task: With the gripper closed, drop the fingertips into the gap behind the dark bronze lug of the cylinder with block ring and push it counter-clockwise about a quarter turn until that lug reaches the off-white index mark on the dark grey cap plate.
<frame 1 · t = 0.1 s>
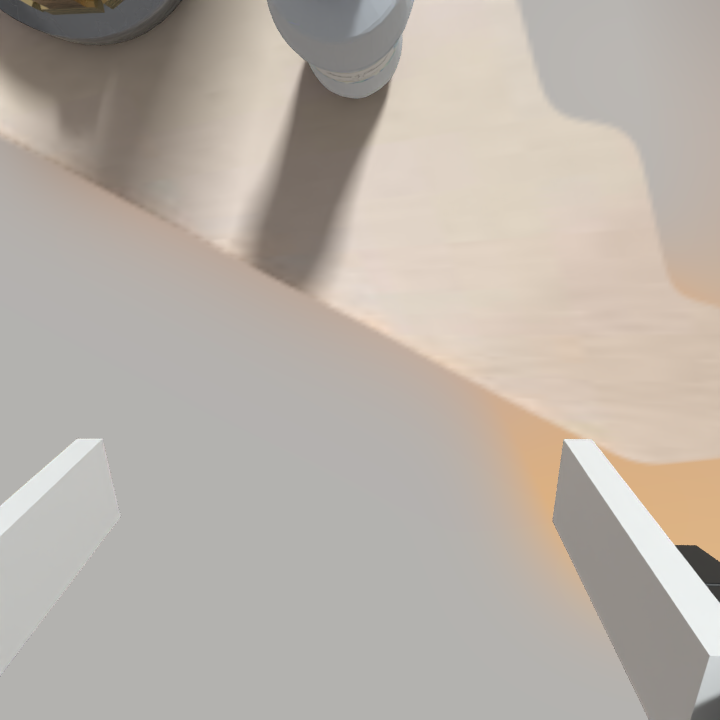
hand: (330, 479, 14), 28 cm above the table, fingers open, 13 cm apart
bottle: (355, 52, 35), on the table
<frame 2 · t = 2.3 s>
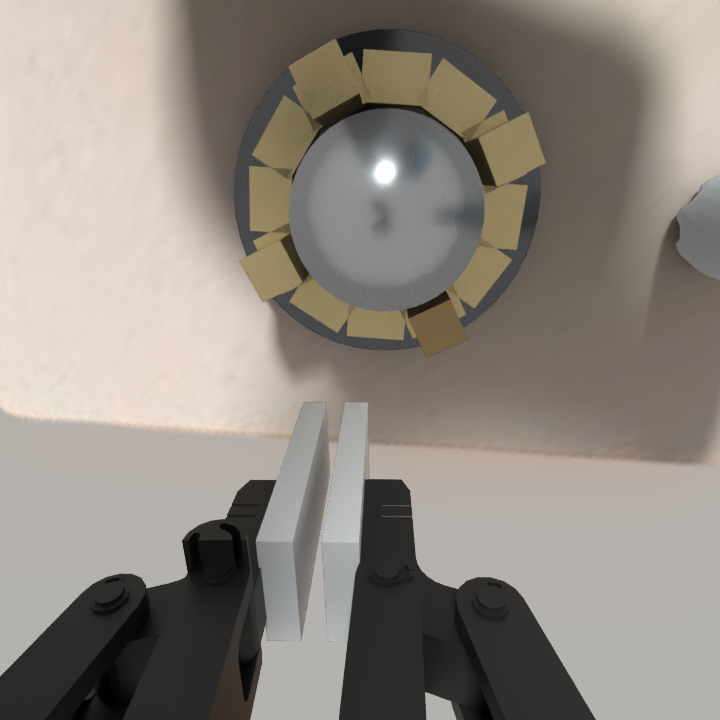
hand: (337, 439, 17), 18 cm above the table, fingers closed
cap plate: (385, 204, 31), on the table
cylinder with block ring: (385, 210, 27), point 5 cm above the table, hinge at 0.0°
bottle: (714, 222, 31), on the table
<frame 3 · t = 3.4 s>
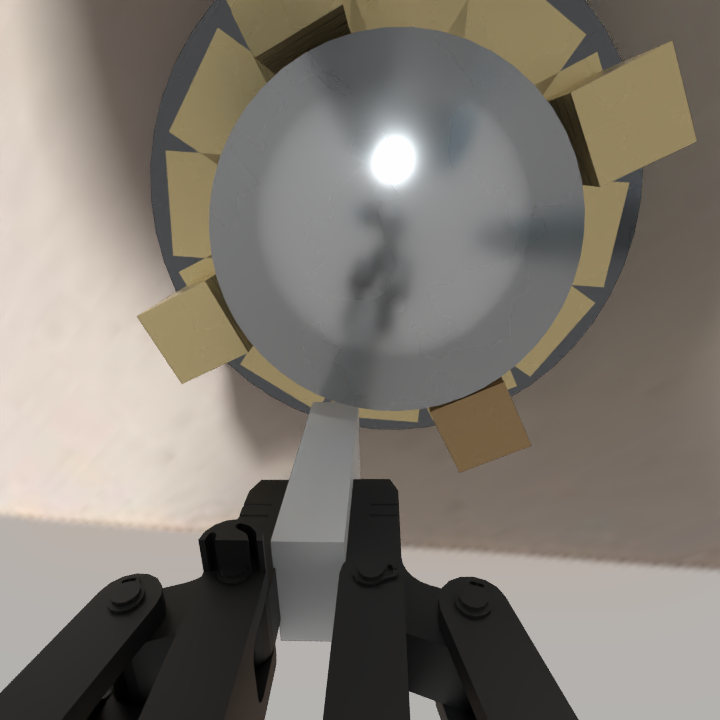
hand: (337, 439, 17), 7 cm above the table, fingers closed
cap plate: (389, 211, 20), on the table
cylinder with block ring: (391, 225, 16), point 5 cm above the table, hinge at 0.0°
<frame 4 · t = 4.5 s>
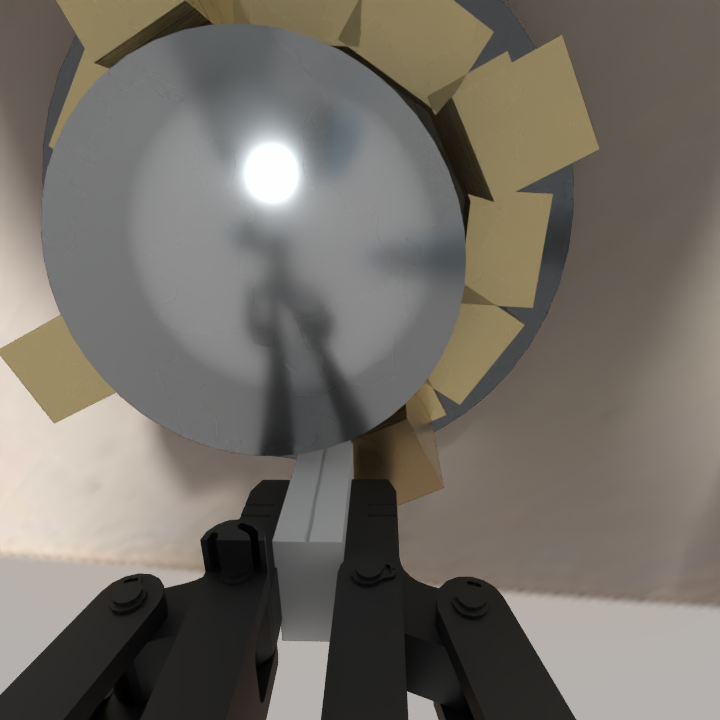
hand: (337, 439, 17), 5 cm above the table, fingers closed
cap plate: (311, 227, 19), on the table
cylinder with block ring: (287, 245, 14), point 5 cm above the table, hinge at 0.4°, touching gripper
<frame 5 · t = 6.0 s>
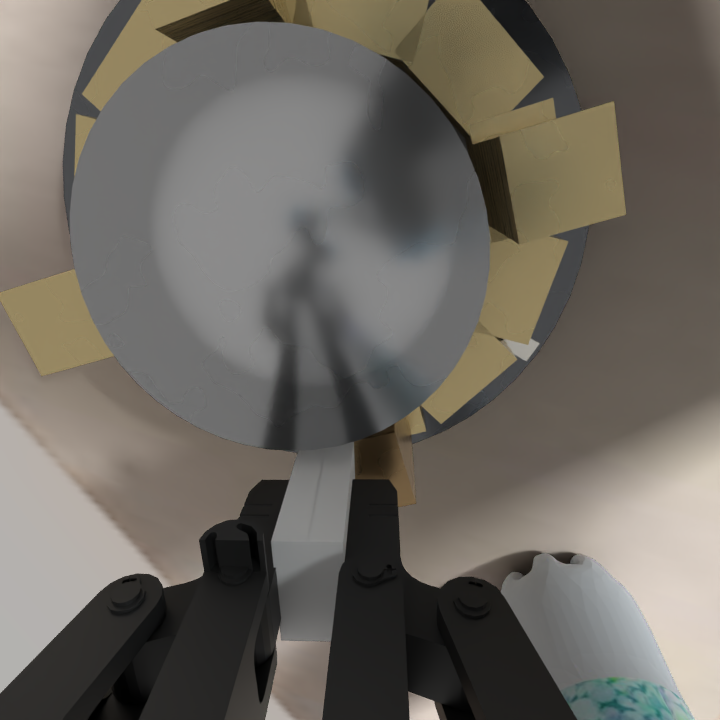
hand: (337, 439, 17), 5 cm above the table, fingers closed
cap plate: (327, 224, 19), on the table
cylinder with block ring: (307, 241, 15), point 5 cm above the table, hinge at 45.6°, touching gripper
bottle: (552, 586, 25), on the table
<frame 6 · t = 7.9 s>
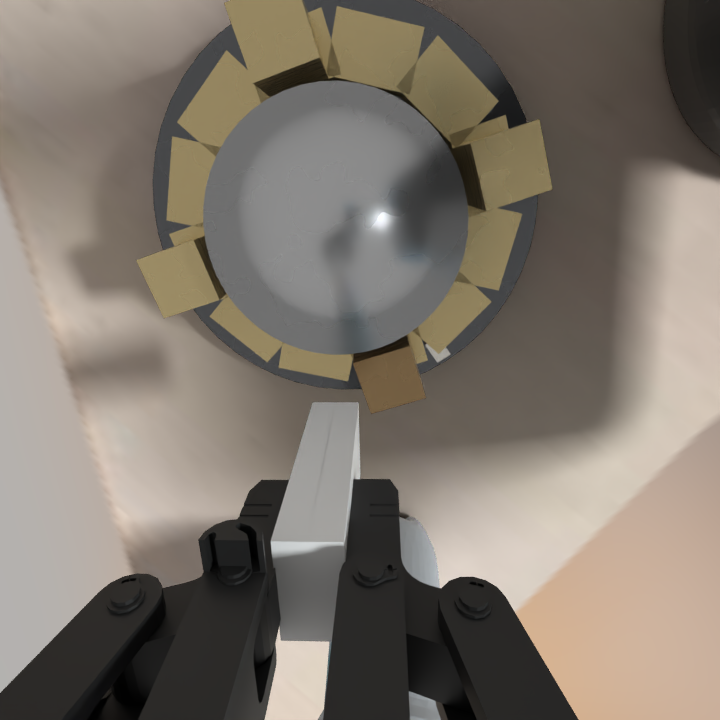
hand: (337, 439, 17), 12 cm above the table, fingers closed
cap plate: (346, 211, 25), on the table
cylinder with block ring: (341, 219, 21), point 5 cm above the table, hinge at 73.0°
bottle: (383, 536, 33), on the table
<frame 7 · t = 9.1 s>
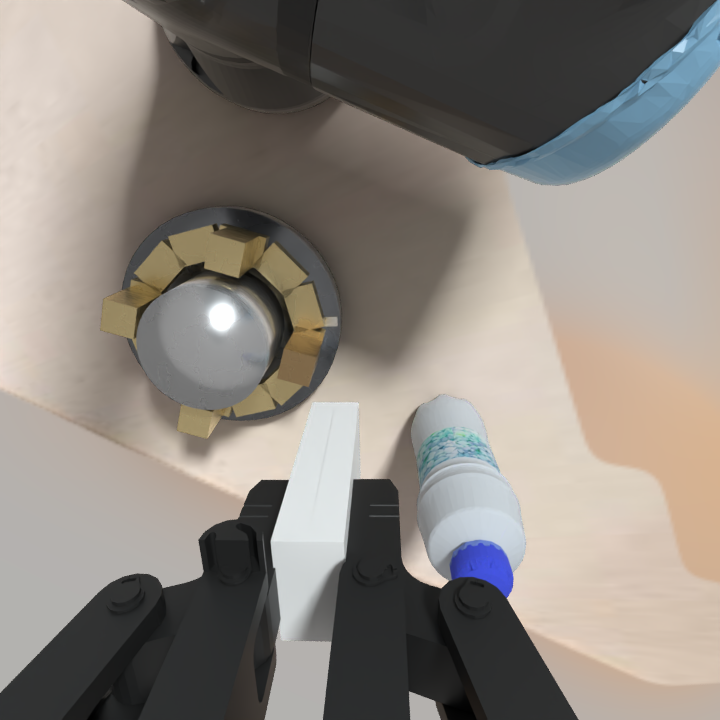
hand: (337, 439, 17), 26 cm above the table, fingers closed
cap plate: (236, 315, 43), on the table
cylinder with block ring: (219, 333, 38), point 5 cm above the table, hinge at 73.0°
bottle: (444, 418, 46), on the table
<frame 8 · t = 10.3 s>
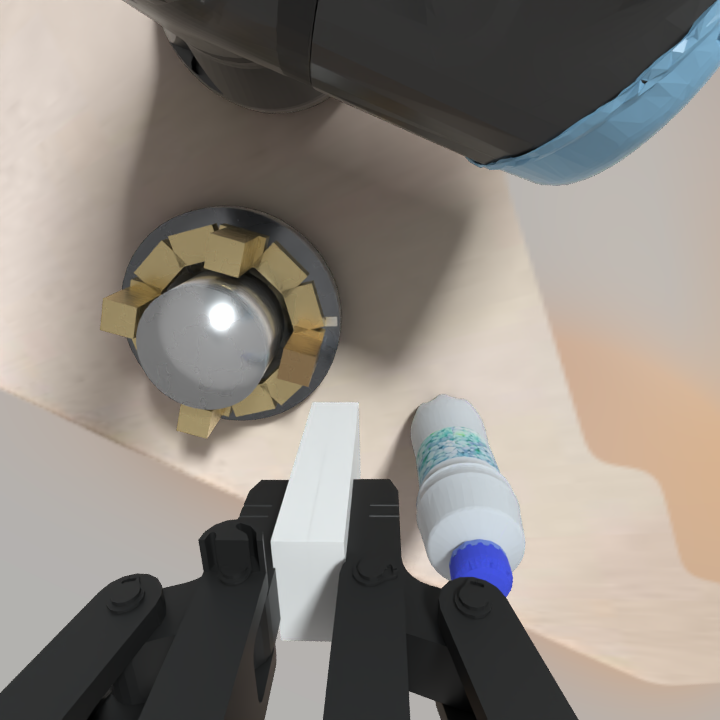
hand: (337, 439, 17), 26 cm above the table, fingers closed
cap plate: (236, 315, 43), on the table
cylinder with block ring: (219, 332, 38), point 5 cm above the table, hinge at 73.0°
bottle: (443, 418, 46), on the table
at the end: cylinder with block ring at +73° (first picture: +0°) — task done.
